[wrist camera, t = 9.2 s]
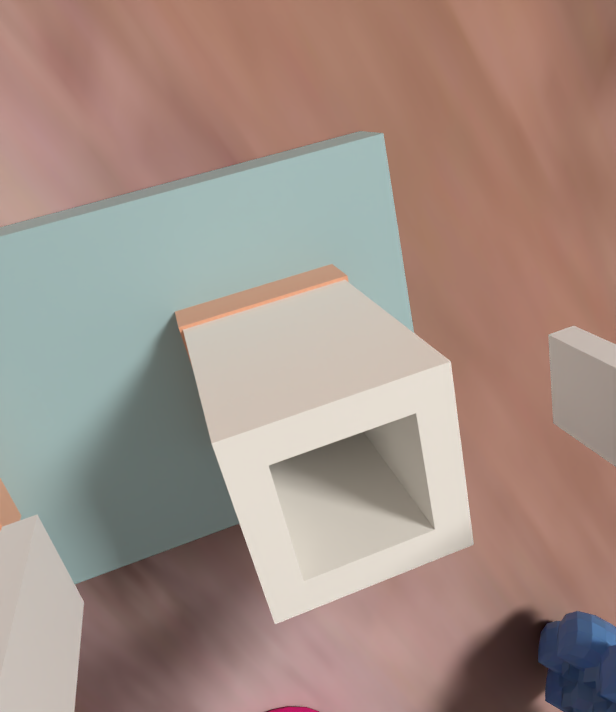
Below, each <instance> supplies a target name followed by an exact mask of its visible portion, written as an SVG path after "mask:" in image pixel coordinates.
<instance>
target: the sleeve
mask: <svg viewBox="0 0 616 712" xmlns="http://www.w3.org/2000/svg"><path fill="white" fill-rule="evenodd" d="M175 315H176V319H177V324H178V328H179V331H180V334H181V337H182V339H183V342H184V345H185V348H186V351H187V354H188V357H189V360H190V363H191V366H192V368H193V372H194V376H195V380H196V384H197V388H198V392H199V396H200V400H201V404H202V408H203V412H204V416H205V420H206V424H207V427H208V431H209V435H210V439H211V443H212V446H213V449H214V452H215V455H216V458H217V461H218V463H219V466H220V469H221V472H222V475H223V478H224V480H225V483H226V486H227V489H228V492H229V495H230V498H231V500H232V503H233V506H234V509H235V512H236V515H237V518H238V520H239V523H240V526H241V529H242V532H243V535H244V537H245V540H246V543H247V546H248V549H249V552H250V555H251V557H252V560H253V563H254V566H255V569H256V572H257V575H258V577H259V580H260V583H261V586H262V589H263V592H264V594H265V597H266V600H267V603H268V606H269V609H270V612H271V614H272V617H273V620H274V623H275V624H277V623H280V622H282V621H285V620H287V619H290V618H292V617H295V616H297V615H300V614H302V613H305V612H307V611H310V610H312V609H315V608H317V607H320V606H322V605H325V604H327V603H330V602H332V601H334V600H337V599H339V598H342V597H344V596H347V595H349V594H352V593H354V592H357V591H359V590H362V589H364V588H367V587H369V586H372V585H374V584H377V583H379V582H382V581H384V580H387V579H389V578H392V577H394V576H397V575H399V574H402V573H404V572H407V571H409V570H412V569H414V568H417V567H419V566H422V565H424V564H427V563H429V562H432V561H434V560H437V559H439V558H442V557H444V556H447V555H449V554H451V553H454V552H456V551H459V550H461V549H464V548H466V547H469V546H471V545H474V543H473V535H472V527H471V519H470V511H469V503H468V495H467V487H466V479H465V471H464V463H463V455H462V448H461V440H460V432H459V424H458V416H457V408H456V400H455V392H454V384H453V376H452V368H451V361H449V360H448V359H447V358H446V357H444V356H443V355H442V354H440V353H439V352H438V351H437V350H435V349H434V348H433V347H431V346H430V345H429V344H428V343H426V342H425V341H424V340H422V339H421V338H420V337H418V336H417V335H416V334H415V333H413V332H412V331H411V330H409V329H408V328H407V327H406V326H404V325H403V324H402V323H400V322H399V321H398V320H397V319H395V318H394V317H393V316H391V315H390V314H389V313H388V312H386V311H385V310H384V309H382V308H381V307H380V306H378V305H377V304H376V303H375V302H373V301H372V300H371V299H369V298H368V297H367V296H366V295H364V294H363V293H362V292H360V291H359V290H358V289H357V288H355V287H354V286H353V285H351V284H350V283H349V281H348V276H347V275H346V274H345V273H343V272H342V271H341V270H339V269H338V268H337V267H335V266H334V265H333V264H330V265H327V266H323V267H320V268H317V269H314V270H310V271H307V272H304V273H300V274H297V275H294V276H290V277H287V278H284V279H281V280H277V281H274V282H271V283H267V284H264V285H261V286H258V287H254V288H251V289H248V290H244V291H241V292H238V293H234V294H231V295H228V296H225V297H221V298H218V299H215V300H211V301H208V302H205V303H202V304H198V305H195V306H192V307H188V308H185V309H182V310H178V311H175Z"/></svg>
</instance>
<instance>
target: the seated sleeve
mask: <svg viewBox="0 0 616 712" xmlns="http://www.w3.org/2000/svg"><path fill="white" fill-rule="evenodd" d="M20 519H21V514H20V512H19V511H18V509H17V507H16V505H15V503H14V502H13V500H12V498H11V496H10V494H9V493H8V491H7V489H6V487H5V485H4V484H3V482H2V480H1V478H0V532H1V529H2V527H3V526H5V525H8V524H11V523H14V522H17V521H20Z"/></svg>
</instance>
